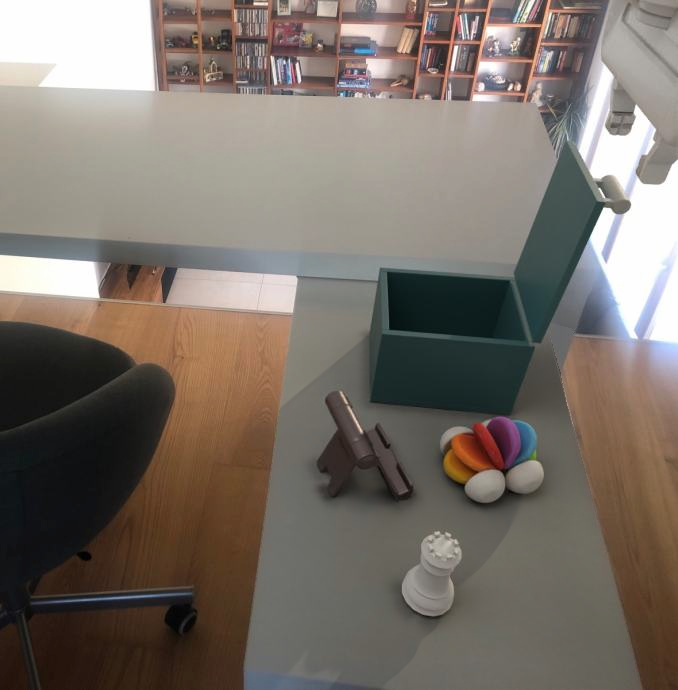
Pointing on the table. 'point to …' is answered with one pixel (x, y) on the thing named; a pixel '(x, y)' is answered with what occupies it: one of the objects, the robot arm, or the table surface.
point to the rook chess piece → (433, 576)
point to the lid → (562, 235)
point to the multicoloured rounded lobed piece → (492, 458)
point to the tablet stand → (359, 450)
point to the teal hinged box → (448, 341)
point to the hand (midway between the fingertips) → (631, 155)
